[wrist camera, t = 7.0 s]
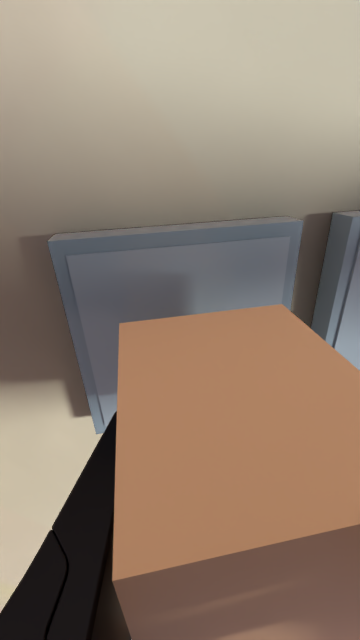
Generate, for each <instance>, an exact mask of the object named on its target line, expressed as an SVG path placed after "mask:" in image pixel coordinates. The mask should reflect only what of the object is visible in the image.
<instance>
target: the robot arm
mask: <svg viewBox="0 0 360 640" xmlns="http://www.w3.org/2000/svg"><path fill="white" fill-rule="evenodd" d="M116 425H117V411H116V412H115V413H114V415H113V417H112V418H111V420H110V422H109V424H108V426H107V427H106V429H105V431H104V433H103V435H102V437H101V438H100V440H99V442H98V444H97V446H96V447H95V449H94V451H93V453H92V455H91V457H90V458H89V460H88V462H87V464H86V466H85V467H84V469H83V471H82V473H81V475H80V477H79V478H78V480H77V482H76V484H75V486H74V487H73V489H72V491H71V493H70V495H69V497H68V498H67V500H66V502H65V504H64V506H63V507H62V509H61V511H60V513H59V515H58V517H57V518H56V520H55V522H54V524H53V526H52V530H50V531H49V533H48V534H47V536H46V538H45V540H44V542H43V544H42V545H41V547H40V549H39V551H38V553H37V554H36V556H35V558H34V559H33V561H32V563H31V565H30V566H29V568H28V570H27V571H26V573H25V575H24V577H23V578H22V580H21V581H20V583H19V585H18V586H17V588H16V589H15V591H14V592H13V594H12V595H11V597H10V599H9V600H8V602H7V603H6V605H5V606H4V608H3V610H2V611H1V613H0V640H131V636H130V633H129V630H128V627H127V624H126V621H125V618H124V615H123V612H122V609H121V606H120V603H119V600H118V597H117V594H116V591H115V588H114V585H113V582H112V572H113V535H114V498H115V462H116Z"/></svg>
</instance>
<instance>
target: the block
mask: <svg viewBox="0 0 360 640" xmlns="http://www.w3.org/2000/svg"><path fill="white" fill-rule="evenodd" d="M112 582H113V585H114V588H115V591H116V594H117V597H118V600H119V603H120V606H121V609H122V612H123V615H124V618H125V621H126V624H127V627H128V630H129V633H130V636H131V639H132V640H360V371H359V370H358V369H357V368H356V367H355V366H354V365H352V364H351V363H350V362H349V361H348V360H347V359H345V358H344V357H343V356H342V355H341V354H340V353H338V352H337V351H336V350H335V349H334V348H333V347H331V346H330V345H329V344H328V343H327V342H326V341H325V340H323V339H322V338H321V337H320V336H319V335H318V334H316V333H315V332H314V331H313V330H312V329H311V328H309V327H308V326H307V325H306V324H305V323H304V322H302V321H301V320H300V319H299V318H298V317H297V316H295V315H294V314H293V313H292V312H291V311H290V310H289V309H287V308H286V307H285V306H284V305H283V304H279V305H270V306H262V307H253V308H245V309H236V310H228V311H219V312H211V313H202V314H194V315H186V316H177V317H169V318H160V319H152V320H143V321H135V322H126V323H119V352H118V388H117V425H116V462H115V498H114V535H113V572H112Z"/></svg>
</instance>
